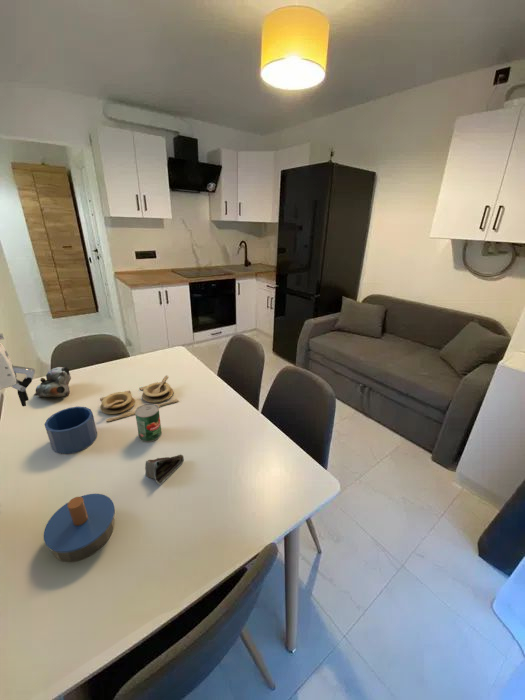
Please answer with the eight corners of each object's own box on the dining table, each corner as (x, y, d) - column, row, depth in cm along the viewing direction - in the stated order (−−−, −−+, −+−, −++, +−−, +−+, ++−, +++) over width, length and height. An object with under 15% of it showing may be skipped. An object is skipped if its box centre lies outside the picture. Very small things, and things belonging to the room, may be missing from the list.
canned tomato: (158, 442, 103) (155, 416, 99) (135, 442, 103) (131, 416, 98) (164, 427, 110) (161, 403, 106) (142, 427, 110) (139, 403, 105)
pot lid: (35, 563, 62) (25, 542, 59) (55, 504, 75) (48, 484, 72) (111, 543, 67) (105, 522, 64) (118, 491, 80) (113, 471, 77)
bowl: (44, 570, 65) (39, 557, 63) (61, 516, 76) (57, 504, 74) (110, 551, 69) (107, 539, 67) (117, 503, 80) (114, 492, 79)
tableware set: (166, 382, 141) (165, 371, 139) (180, 401, 126) (179, 390, 124) (97, 399, 125) (94, 387, 123) (104, 424, 111) (101, 411, 108)
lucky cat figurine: (30, 394, 126) (36, 363, 127) (63, 395, 135) (68, 365, 136) (38, 399, 116) (44, 364, 117) (72, 399, 125) (78, 367, 126)
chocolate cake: (170, 452, 99) (142, 446, 90) (185, 455, 96) (158, 449, 86) (161, 483, 95) (132, 479, 86) (177, 486, 92) (148, 483, 83)
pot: (46, 457, 94) (38, 434, 90) (58, 431, 106) (52, 409, 102) (93, 449, 98) (87, 427, 95) (100, 425, 110) (95, 404, 106)
